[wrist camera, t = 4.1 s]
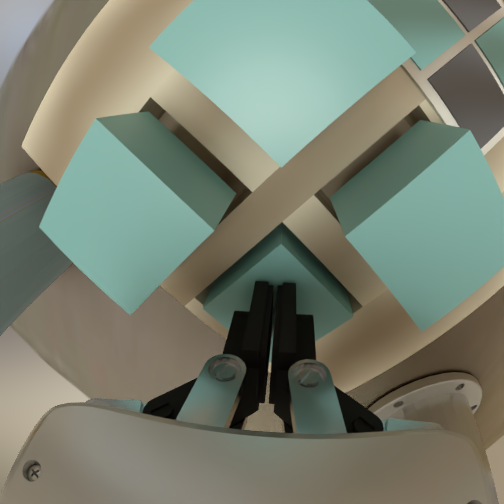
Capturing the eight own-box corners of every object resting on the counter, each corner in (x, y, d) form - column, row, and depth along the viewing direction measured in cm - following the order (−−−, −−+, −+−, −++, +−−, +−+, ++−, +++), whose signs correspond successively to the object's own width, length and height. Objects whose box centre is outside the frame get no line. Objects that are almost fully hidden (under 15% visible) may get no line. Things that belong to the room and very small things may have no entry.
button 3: (378, 67, 8) (416, 52, 5) (283, 148, 10) (281, 167, 7) (283, -20, 7) (278, -66, 4) (190, 62, 9) (148, 47, 6)
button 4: (236, 193, 11) (214, 230, 8) (164, 266, 13) (130, 315, 10) (148, 111, 10) (95, 118, 7) (90, 195, 12) (38, 226, 9)
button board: (551, 177, 11) (590, 197, 8) (316, 365, 20) (318, 411, 16) (318, -110, 6) (322, -148, 2) (62, 134, 14) (15, 148, 11)
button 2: (343, 274, 15) (353, 316, 12) (278, 320, 17) (274, 365, 14) (283, 211, 14) (281, 243, 11) (219, 268, 16) (202, 308, 13)
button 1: (475, 211, 10) (521, 249, 7) (395, 277, 12) (421, 332, 9) (420, 119, 9) (469, 129, 6) (329, 197, 11) (344, 236, 8)
